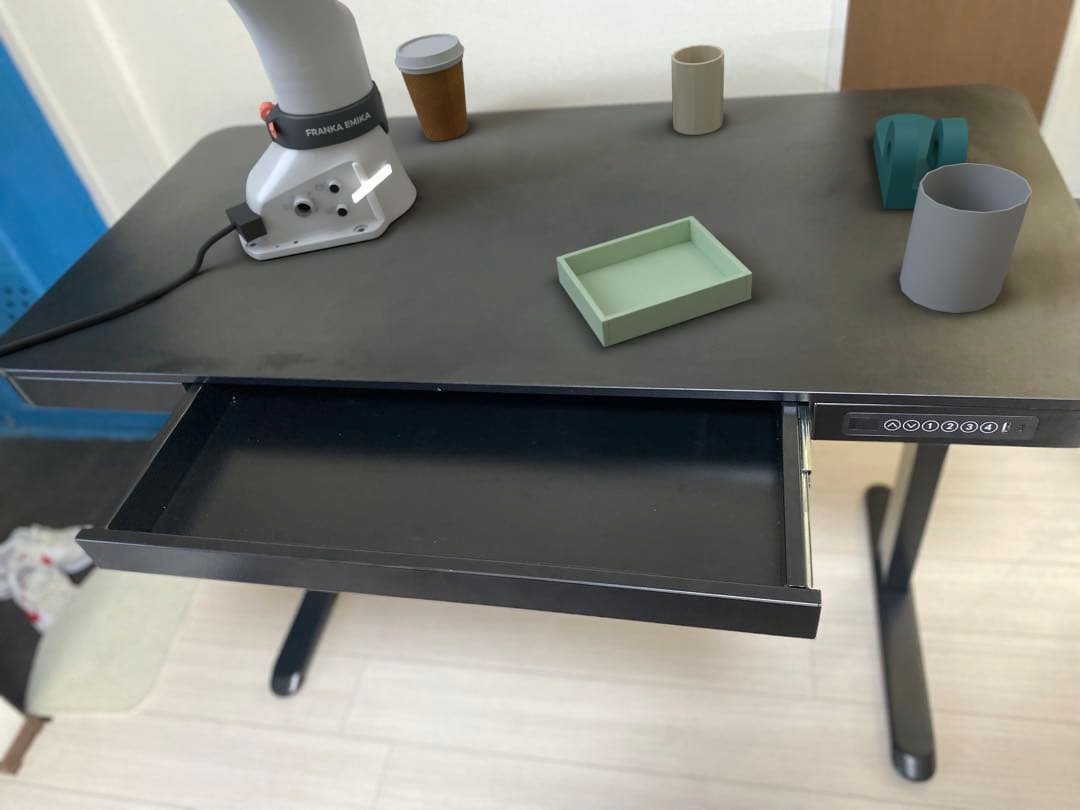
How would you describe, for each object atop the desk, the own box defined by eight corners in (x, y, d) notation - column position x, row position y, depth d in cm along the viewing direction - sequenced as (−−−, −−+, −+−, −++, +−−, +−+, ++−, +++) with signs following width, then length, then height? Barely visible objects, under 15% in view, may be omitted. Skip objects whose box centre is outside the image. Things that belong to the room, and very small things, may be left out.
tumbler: (686, 139, 102) (685, 68, 95) (664, 121, 106) (662, 53, 100) (731, 126, 103) (733, 55, 96) (708, 109, 107) (708, 40, 101)
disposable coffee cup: (415, 122, 117) (394, 39, 109) (479, 112, 117) (462, 27, 109) (411, 151, 110) (389, 63, 102) (479, 140, 110) (461, 51, 102)
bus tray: (604, 347, 73) (601, 321, 71) (559, 281, 82) (556, 257, 80) (751, 299, 76) (752, 273, 74) (692, 240, 84) (692, 215, 82)
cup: (1008, 313, 69) (1041, 212, 62) (906, 312, 71) (928, 213, 64) (989, 259, 75) (1018, 161, 68) (895, 259, 77) (914, 164, 70)
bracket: (954, 208, 82) (972, 135, 77) (884, 209, 84) (897, 138, 78) (931, 130, 95) (945, 63, 89) (870, 132, 96) (880, 67, 91)
